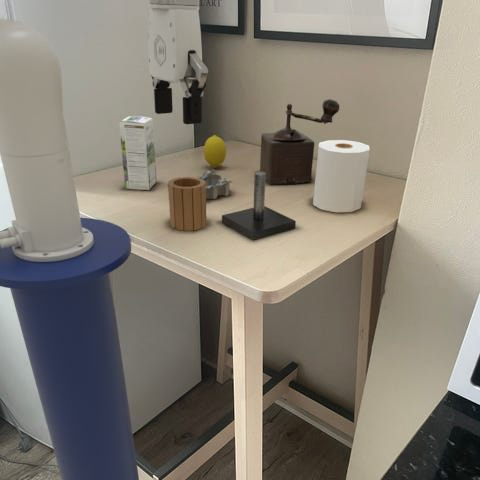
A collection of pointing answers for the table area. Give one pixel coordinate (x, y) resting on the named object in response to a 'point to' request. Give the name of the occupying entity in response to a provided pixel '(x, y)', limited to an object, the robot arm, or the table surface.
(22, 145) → the robot arm
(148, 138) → the syrup box
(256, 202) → the stand
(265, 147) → the manual coffee grinder
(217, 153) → the lemon
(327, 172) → the toilet paper
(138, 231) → the table surface
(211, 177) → the metal cookie cutter
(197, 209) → the wooden bucket
